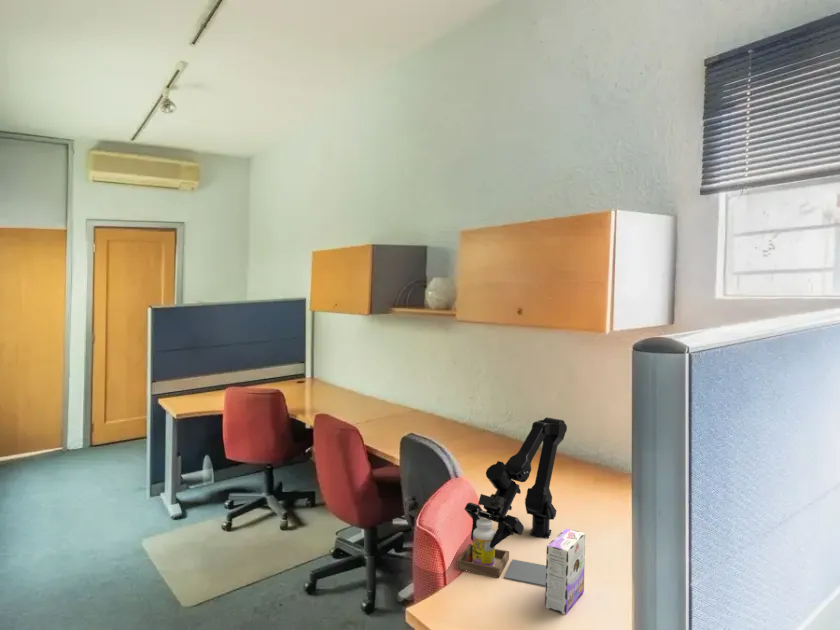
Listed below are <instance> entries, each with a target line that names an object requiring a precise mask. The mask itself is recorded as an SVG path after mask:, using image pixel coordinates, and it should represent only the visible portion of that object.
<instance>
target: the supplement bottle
mask: <svg viewBox="0 0 840 630" xmlns="http://www.w3.org/2000/svg"><path fill="white" fill-rule="evenodd" d="M495 533H496V531H495V530H494V529H493V521H492V520H489V519H486V518H483V519H479V520H477V528H476V529H475V530H474V531H473V541H472V545H473V553H472V558H471V559H472V560H471V562H472V563H477V564H482V565H487V566H492V567H495V563H496V562H495V561H496V558H495V549H496V546H494V547H493V548H491V547H490V544H491V541H492V539H493V537H494V535H495Z"/></svg>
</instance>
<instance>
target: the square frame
mask: <svg viewBox="0 0 840 630" xmlns="http://www.w3.org/2000/svg"><path fill="white" fill-rule="evenodd" d="M472 553H473V543H469V544H468V545H467V546H466V548H465V549H464V550H463V552H462V553H461V555H460V556H459V558H458V559H457V561H456V564H457V563H458V569H459V570H458V571H463V572H467V571H470V572H469V573H472V572H473V574H477V573H478V574H479V575H482V576H483V575H484V576H488V577H492V578H493V577H494V578H498V579H500V577H501V575H503V572H504V571H505V568H506V566H507V564H508V562H509V560H510V551H508V550H506V549H505V550H504V549H498V548H495V559H498V560H500V562H499V564H498V566H493V567H492V566H487V565H482V564H477V563H473V562H472V561H467V559H468V558H469V556H471V554H472ZM466 570H467V571H466Z"/></svg>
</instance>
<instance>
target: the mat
mask: <svg viewBox="0 0 840 630" xmlns="http://www.w3.org/2000/svg"><path fill="white" fill-rule="evenodd" d="M503 579H506V580H510V581H515V582H520V583H525V584H530V585H533V586H540V587H544V588H546V564H545V565H544V564H541V563H540V564H539V563H535V562H529V561H524V560H520V559H519V560H518V559H512V560H511V562H510V563H509V566H508V567H507V570H506V572H505V573H504V575H503Z"/></svg>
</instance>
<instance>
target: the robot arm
mask: <svg viewBox="0 0 840 630" xmlns="http://www.w3.org/2000/svg"><path fill="white" fill-rule="evenodd" d="M567 428H568V426H567V424H566V423H565V420H564V419H559V418H553V417H545V418H544V419H538V420H536V421H533V423H532V426H531V430H530V431H529V433H528V435H527V437H526V438H525V440H524V442H523V443H522V445H521V447H520V448H519V450H518V452H517V453H515V454H514V455H512V456H510V457H509V458H508V460H507V461H506V463H504V461H500V460H497V462H496V463H495V464H494V463H493V464H492V465H490V466H489V467H488V468H487V469H486V471H485V476H486V478H487V479H488V481H489V482H490V483H491V485H492V486H493V487H494V488H495V489H496V491H495V493H491V495H486V494H483V493H481V494H480V495H479V498H478V499H479V500H478V503H473V502H468V503H467V504H466V505H465V507H464V511H465V512H466V513H467V515H468V516H469V517H470V518H471V519H472V524H471V525H472V526H471V534H470V540H471V541H472V542H473V531H474V530H475V529H476V528H477V520H479V519H489V520H491V521H492V522H494V523H495V522H496V523H497V529H496V531H495V535H494V537H493V539H492V541H491V544H490V547H491V548H493V547H494V546H495V547H496V546H497V545H498V544H499V543H502V541H503V540H505V539H507V538H509V537H510V536H514V535H518V536H522V535H523V532H524V525H523V523H522V522H521V520H520V519H519V518H518V517H515V516H514V515H510V514H508V511H511V510H513V507H512V503H513V501H514V499H515V497H516V496H517V494H518V495H520V494H521V488H520V484H518V483H516V482H519V483H525V482H526V481H527V480H528V479H529V477H530V474H531V471H532V461H533V459H534V457H535V456H536V454H537V452H538V450H539V448H540V446H542V447H541V452H540V456H539V462H538V467H537V471H536V474H535V475H536V476H535V479H534V480H535V481H534V484H533V485H532V487H528V488H527V491H526V495H525V499H524V505H525V510H526V514H527V515H531V516H532V519H531V520H532V521H531V522H532V523H531V524H532V525H531V527H532V528H531V530H530V531H529V536H533V535H535V536H534V537H539V536H541V538H545V537H548V538H547V539H550V537H549V536H551V534H552V532H551V531H552V529H551V528H550V520H555V518H556V515H557V509H556V508H555V506H554V505H553V503H552V502H553V496H552V492H551V490H550V485H551V481H552V474H553V471H554V470H553V469H554V465H555V459H556V455H557V451H558V446H559V445H560V444H561V442H562V441H564V439H565V436H566V433H567V430H568V429H567ZM541 444H542V445H541ZM481 506H483V508H482V507H481ZM483 509H484V510H483Z"/></svg>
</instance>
